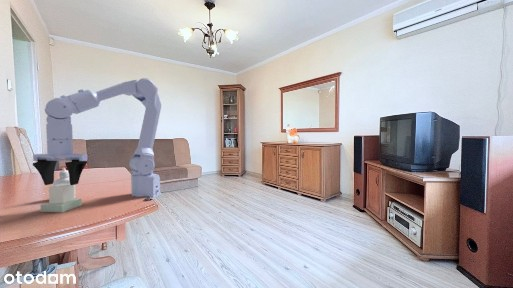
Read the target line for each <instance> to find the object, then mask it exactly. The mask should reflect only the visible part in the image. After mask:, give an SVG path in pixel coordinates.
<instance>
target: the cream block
mask: <svg viewBox="0 0 513 288" xmlns="http://www.w3.org/2000/svg"><path fill="white" fill-rule="evenodd" d="M48 198H49V199H48V200H49V201H48V202H49V204H61V203H66V202H69V201H72V200H74V185H70V184H58V185H54V184H53V185H51V186H48Z"/></svg>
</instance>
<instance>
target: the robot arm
mask: <svg viewBox="0 0 513 288" xmlns="http://www.w3.org/2000/svg"><path fill="white" fill-rule="evenodd" d="M158 91H159V89H158V86H157V85H156V84H155V83H154V81H152V80H151V79H149V78H145V77H142V78H140V79H132V80H128V81H124V82H121V83H118V84H115V85H112V86H109V87H107V88H103V89H100V90H98V91H94V90H93V91H92V90H89V89H85V90H84V89H83V88H82V89H79V90H77V92H76V93H71V94H69V95H60V97H55V98H53V99H51V100H49V101H48V102H47V103H46V104H45V108H44V113H45V114H46V118H45V119H46V122H47V123H45V124H46V125H45V127H46V128H45V129H46V132H45V133H46V150H47V153H36V154H35V153H34V154H32V156H33V157H32V158H33V159H32V161H33V162H32V166H33V168H35V169H36V170H37V172H38V173H39V175H40V176H41V179H42V181H43V184H44V186H49V185H54V181H55V169H56V165H57V163H58V161H60V162H62V161H63V162H64V164H65V166H66V169H67V171H68V172H69V177H68V178H69V180H70V185H75V186H76V185H78V184H79V182H80V177H81V175H82V173H83V170H84V168H85V167H86V166H87V163H88V154H87V153H74V144H73V142H74V140H73V124H72V117H71V116H72V115H73V114H74V115H77V114H81V113H84V112H87V111H89V110H92V109H94V108H95V109H96V108H97V107H99V106H100V104H101V102H102V101H105V100H109V99H112V98H115V97H117V96H121V95H125V96H127V97H128V96H131V97H134V98H135V99H136V100H138V101H139V102H141V104H142V105H143V107H145V112H144V115H143V120H142V124H141V128H140V129H141V130H140V133H139V134H140V135H139V138H138V144H137V147H136V149H135V150H134V152H133V156H132V157H131V158H130V160H129V161H128V162H129V168H130V169H131V170H132V172H131V174H130V178H131V179H130V180H131V181H130V183H131V185H130V186H131V187H130V188H131V197H137V198H138V197H145V198H144V199H143V200H146V201H151V200H150V199H152V200H154V199H155V198H157V197H158V196H160V195H161V194H162V192H161V177H160V175H159V174H157V173H154V169H155V167H156V163H155V153H154V150H153V148H154V143H155V139H156V133H157V130H158V129H157V128H158V124H159V119H160V114H161V110H162V102H161V100H160V95H159V93H158ZM148 195H149V196H148ZM150 197H151V198H150Z"/></svg>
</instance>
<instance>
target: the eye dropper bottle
mask: <svg viewBox="0 0 513 288" xmlns="http://www.w3.org/2000/svg"><path fill="white" fill-rule="evenodd" d="M66 169H67V168H66V167H62V169H61V171H59V173H58V175H59V176H58V178H57V179H54V182H53V186H54V185H58V184H70V180H69V172H68V170H66ZM74 198H76V185H74Z"/></svg>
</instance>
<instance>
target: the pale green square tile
mask: <svg viewBox="0 0 513 288" xmlns="http://www.w3.org/2000/svg"><path fill="white" fill-rule="evenodd" d="M85 205H86V203H82V205H80V206H77V207H75V208H72V209H70V210H67V211H64V212H41V210H39V211H38V212H36V214H37V213H38V214H63V213H68V212H70V211H73V210H75V209H77V208H79V207H83V206H85Z"/></svg>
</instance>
